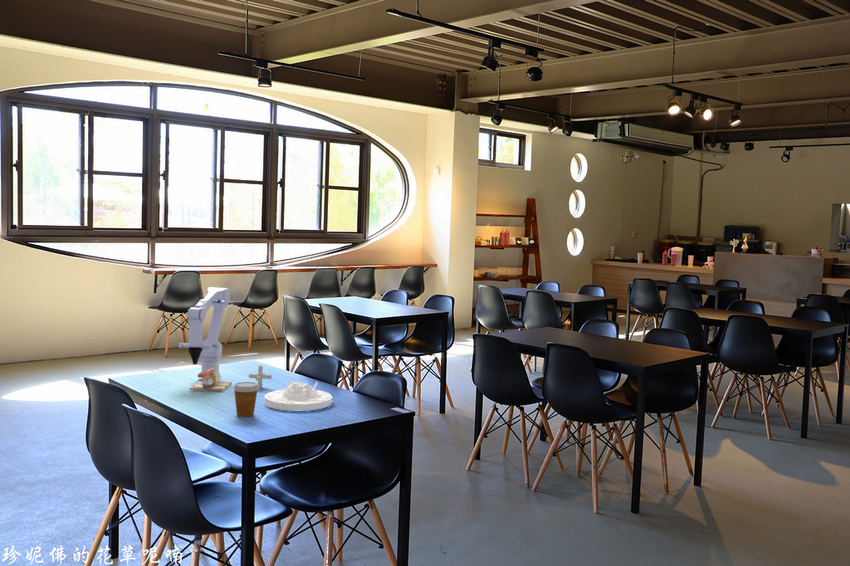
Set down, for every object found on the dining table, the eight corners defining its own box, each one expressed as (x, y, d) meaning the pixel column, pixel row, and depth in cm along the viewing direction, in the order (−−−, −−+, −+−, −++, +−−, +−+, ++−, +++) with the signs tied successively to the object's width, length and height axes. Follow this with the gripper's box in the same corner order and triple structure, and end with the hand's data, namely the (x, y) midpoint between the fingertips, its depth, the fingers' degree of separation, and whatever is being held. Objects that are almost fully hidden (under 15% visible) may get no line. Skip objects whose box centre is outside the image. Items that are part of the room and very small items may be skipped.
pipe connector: (268, 390, 317) (268, 368, 316) (246, 389, 317) (246, 367, 316) (273, 385, 327) (274, 364, 326) (251, 384, 327) (252, 363, 326)
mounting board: (200, 383, 325) (200, 380, 325) (231, 384, 326) (231, 381, 325) (189, 390, 309) (189, 387, 309) (221, 391, 310) (222, 389, 309)
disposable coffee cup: (232, 418, 267) (233, 387, 266) (232, 412, 276) (233, 381, 275) (258, 417, 270) (259, 386, 269) (257, 411, 279) (258, 381, 278)
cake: (277, 415, 276) (278, 391, 276) (255, 399, 300) (256, 377, 300) (343, 409, 290) (343, 386, 290) (317, 394, 314) (318, 373, 314)
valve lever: (209, 370, 318) (209, 367, 318) (215, 371, 318) (215, 367, 318) (197, 377, 303) (197, 374, 303) (203, 377, 303) (203, 374, 303)
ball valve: (210, 382, 325) (210, 368, 325) (222, 382, 325) (222, 368, 325) (199, 389, 309) (199, 374, 309) (212, 390, 309) (212, 375, 309)
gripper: (176, 334, 314) (176, 365, 314) (209, 336, 314) (208, 366, 315) (181, 332, 321) (181, 362, 322) (214, 333, 321) (213, 363, 322)
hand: (195, 364), depth 319 cm, fingers closed
